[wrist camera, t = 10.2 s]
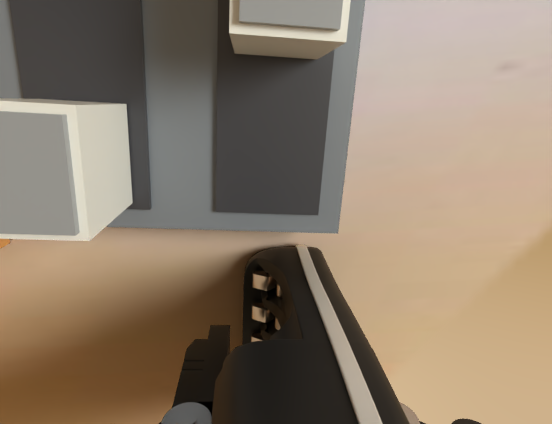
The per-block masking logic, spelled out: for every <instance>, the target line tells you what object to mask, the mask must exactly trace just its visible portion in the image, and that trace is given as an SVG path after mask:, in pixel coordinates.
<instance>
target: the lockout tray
mask: <svg viewBox="0 0 552 424" xmlns="http://www.w3.org/2000/svg"><path fill="white" fill-rule="evenodd" d="M9 243H10V239H0V248H2V247H4V246H5V245H7V244H9Z"/></svg>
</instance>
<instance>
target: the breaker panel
mask: <svg viewBox="0 0 552 424" xmlns="http://www.w3.org/2000/svg"><path fill="white" fill-rule="evenodd" d="M364 6H365V0H351V2H350V11H349V21H348V30H347V40H346V43H344V44H343V45H341V46H339V47H338V48H336V49H334V50H333V51H331V52H329V53H328V54H326V55H324V56H322V57H321V58H319V59H317V60H316V59H303V58H289V57H275V56H261V55H247V54H235V53H234V49H233V45H232V42H231V38H230V35H229V10H230V0H0V98H10V99H51V100H68V101H85V102H103V103H120V104H126V105H127V121H128V137H129V153H130V169H131V185H132V200H133V203H132V204H131V205H130V206H129V207H127V208H126V209H125V210H124V211H123V212H122V213H121V214H120V215H118V216H117V217H116V218H115V219H114V220H113V221H112V222H111V223H109V224H108V225H107V226H106V227H129V228H164V229H199V230H234V231H270V232H305V233H338V229H339V220H340V211H341V203H342V194H343V186H344V177H345V169H346V160H347V151H348V143H349V134H350V126H351V117H352V109H353V100H354V91H355V83H356V74H357V66H358V57H359V49H360V40H361V31H362V23H363V14H364Z"/></svg>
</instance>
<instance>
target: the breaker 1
mask: <svg viewBox="0 0 552 424" xmlns="http://www.w3.org/2000/svg"><path fill="white" fill-rule="evenodd" d="M132 203H133V200H132V185H131V169H130V153H129V137H128V121H127V105H126V104H120V103H103V102H85V101H68V100H51V99H10V98H0V239H34V240H74V241H90V240H91V239H92V238H94V237H95V236H96V235H97V234H98V233H99V232H100V231H101V230H103V229H104V228H105V227H106V226H107V225H108V224H109V223H111V222H112V221H113V220H114V219H115V218H116V217H117V216H118V215H120V214H121V213H122V212H123V211H124V210H125V209H126V208H127V207H129V206H130V205H131V204H132Z"/></svg>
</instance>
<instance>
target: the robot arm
mask: <svg viewBox="0 0 552 424" xmlns="http://www.w3.org/2000/svg"><path fill="white" fill-rule="evenodd" d="M372 350H373V349H372ZM373 352H374V351H373ZM229 354H230V325H211V326H210V330H209V336H208V339H195V340H194V341H193V342H192V344H191V345H190V346H189V347H188V348H187V350H186V354H185V359H184V363H183V367H182V371H181V375H180V379H179V383H178V387H177V391H176V395H175V399H174V403H173V406H172V409H170V410H169V411H168V412H167V413H166V414H165V416H164V417H163V419H162V421H161V422H160V423H159V424H211V420H212V409H213V399H214V389H215V381H216V379H217V377H218V375H219V373H220V372H221V370H222V368H223V363H224V360H225V358H226V357H227V356H228V355H229ZM374 354H375V353H374ZM399 403H400V402H399ZM400 405H401V407H402V409H403V411H404V413H405V415H406V417H407V419H408V421H409V423H410V424H425V423H423V422H420V421H419V419H418V418H417V416H416V414H415V413H414V412H413V411H412V410H411V409H410V408H409V407H407V406H406V405H404V404H402V403H400ZM452 424H481V423H479V422H476V421H473V420H470V419H458V420H455V421H454V422H453V423H452Z"/></svg>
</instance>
